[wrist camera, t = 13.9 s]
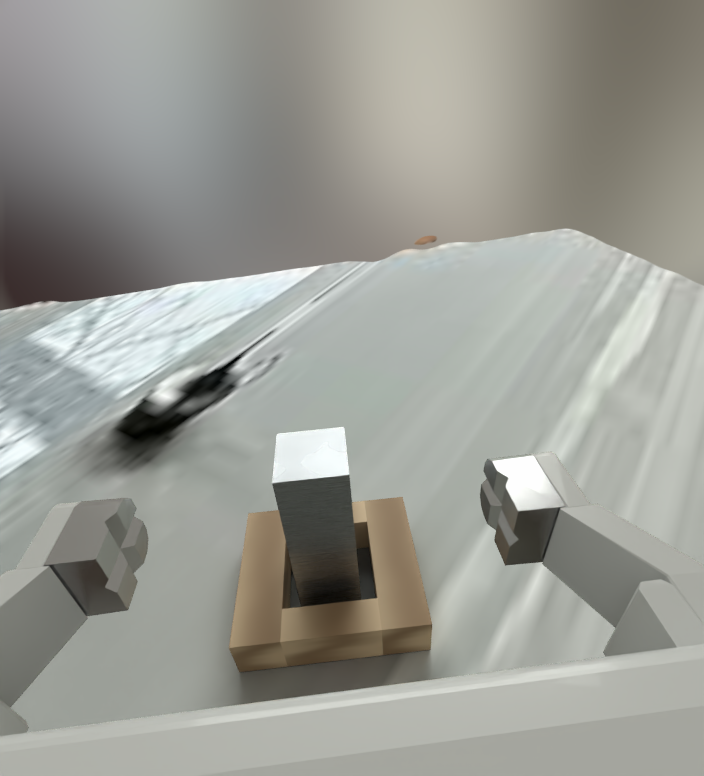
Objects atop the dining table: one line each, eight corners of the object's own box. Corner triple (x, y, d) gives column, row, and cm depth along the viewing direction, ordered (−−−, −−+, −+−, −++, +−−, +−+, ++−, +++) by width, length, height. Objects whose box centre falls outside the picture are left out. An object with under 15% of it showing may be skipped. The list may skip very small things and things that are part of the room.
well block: (239, 672, 28) (228, 647, 26) (255, 538, 36) (248, 513, 34) (430, 649, 28) (432, 624, 26) (402, 522, 36) (402, 497, 35)
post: (304, 618, 30) (272, 482, 23) (304, 566, 33) (276, 433, 26) (362, 611, 30) (349, 474, 23) (357, 560, 34) (344, 426, 26)
